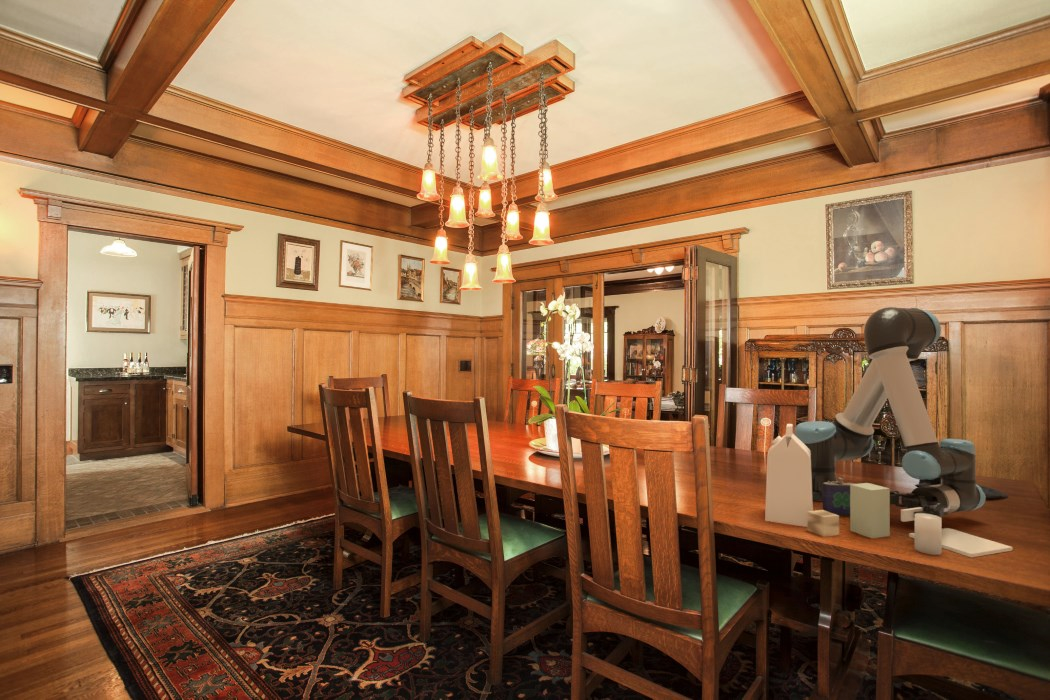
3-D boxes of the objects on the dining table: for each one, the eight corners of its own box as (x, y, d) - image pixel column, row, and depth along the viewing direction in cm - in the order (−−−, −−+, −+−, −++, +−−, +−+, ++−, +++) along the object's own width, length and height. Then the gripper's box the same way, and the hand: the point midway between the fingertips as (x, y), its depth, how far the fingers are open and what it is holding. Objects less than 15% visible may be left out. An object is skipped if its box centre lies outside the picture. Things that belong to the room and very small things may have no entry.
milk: (812, 527, 138) (812, 429, 139) (765, 520, 144) (765, 426, 144) (813, 515, 149) (813, 424, 149) (768, 509, 155) (768, 421, 155)
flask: (853, 513, 151) (853, 476, 151) (859, 516, 148) (859, 478, 148) (820, 513, 151) (820, 476, 151) (826, 516, 148) (825, 478, 148)
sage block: (850, 530, 136) (850, 484, 136) (867, 528, 138) (867, 482, 138) (871, 538, 131) (871, 490, 131) (889, 535, 132) (889, 488, 132)
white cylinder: (909, 548, 124) (909, 514, 124) (924, 545, 126) (924, 512, 126) (931, 555, 119) (931, 520, 119) (946, 553, 121) (946, 518, 121)
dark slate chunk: (984, 503, 162) (984, 488, 162) (910, 486, 183) (910, 473, 183) (1013, 498, 168) (1013, 484, 168) (938, 482, 188) (938, 469, 188)
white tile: (909, 536, 132) (909, 533, 132) (948, 530, 136) (948, 527, 136) (971, 557, 118) (971, 554, 118) (1012, 550, 123) (1012, 547, 123)
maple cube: (807, 530, 136) (807, 511, 136) (822, 528, 138) (822, 509, 138) (823, 537, 132) (823, 517, 132) (839, 535, 133) (839, 515, 133)
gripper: (987, 529, 129) (926, 539, 122) (888, 501, 152) (832, 508, 146) (987, 498, 129) (926, 506, 122) (888, 475, 152) (832, 481, 146)
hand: (875, 507), depth 134 cm, fingers open, 13 cm apart
